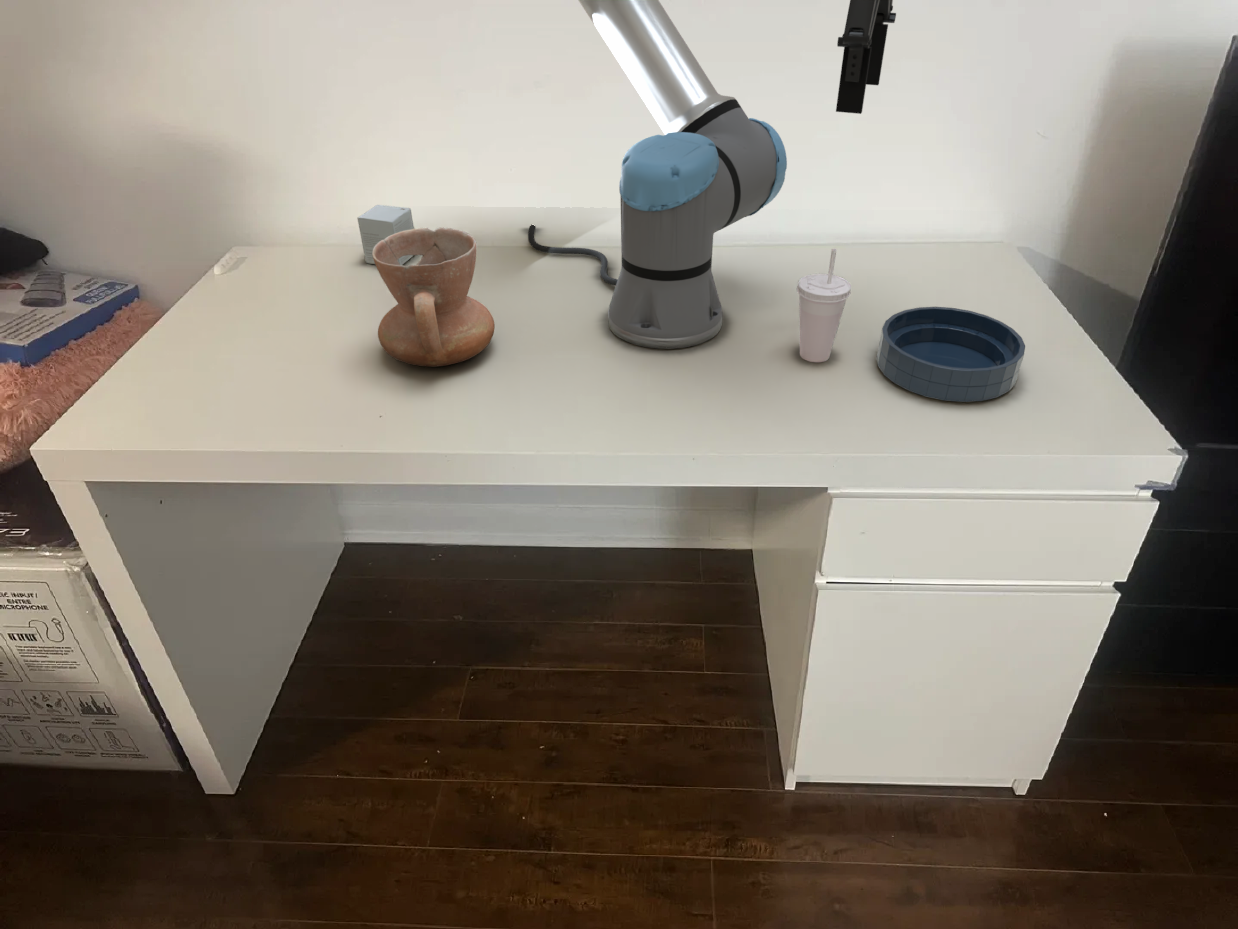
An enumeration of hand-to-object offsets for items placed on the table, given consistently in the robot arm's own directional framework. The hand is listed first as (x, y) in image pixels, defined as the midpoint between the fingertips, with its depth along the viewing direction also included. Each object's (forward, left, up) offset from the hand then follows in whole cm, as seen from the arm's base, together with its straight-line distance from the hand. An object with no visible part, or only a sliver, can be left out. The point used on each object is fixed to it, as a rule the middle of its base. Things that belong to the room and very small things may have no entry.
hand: (858, 97), depth 100 cm
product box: (-44, -51, -29) cm, 73 cm away
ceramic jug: (-11, -50, -29) cm, 59 cm away
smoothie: (+7, -6, -29) cm, 30 cm away
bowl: (+16, +7, -29) cm, 34 cm away
